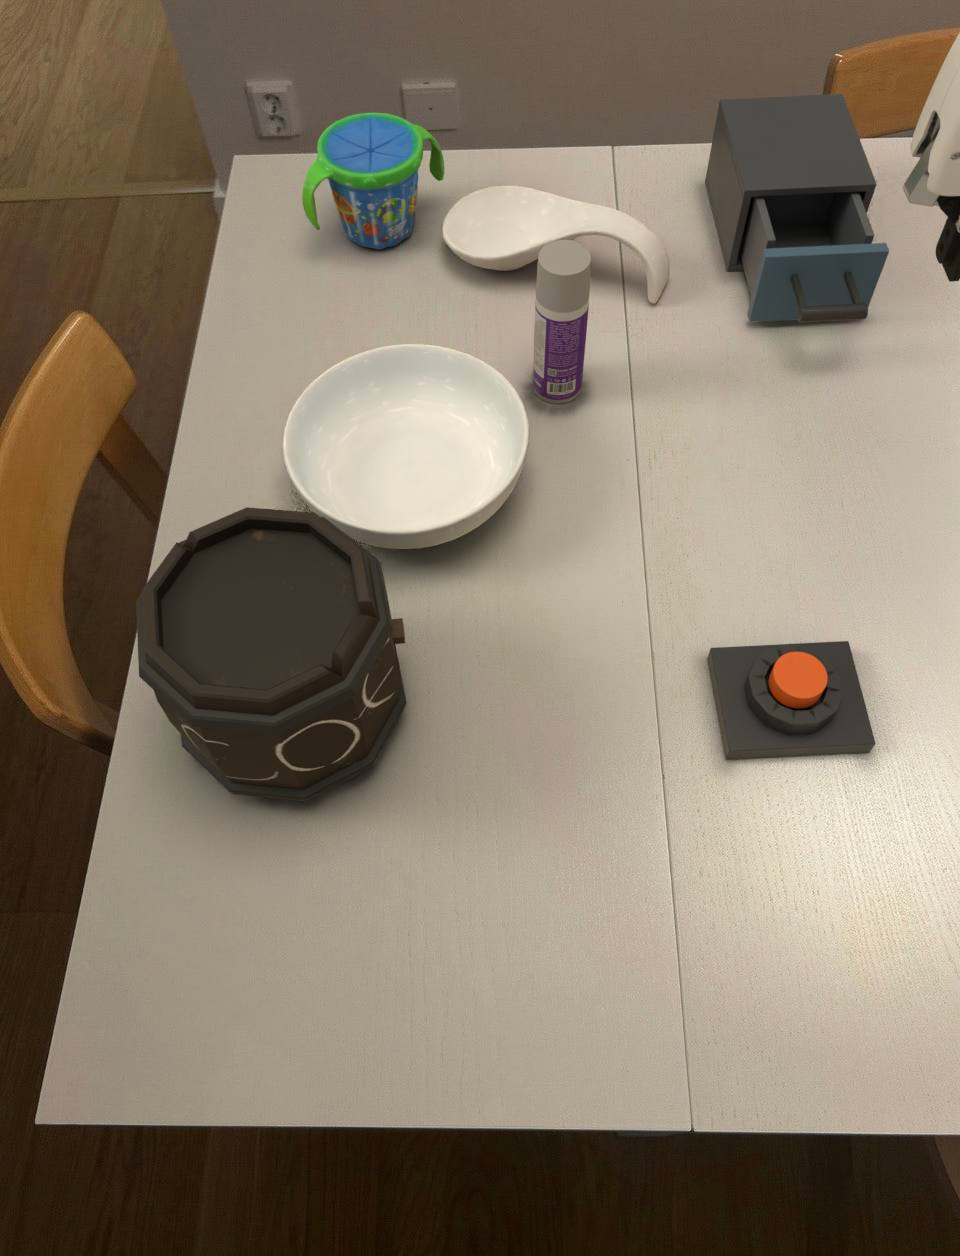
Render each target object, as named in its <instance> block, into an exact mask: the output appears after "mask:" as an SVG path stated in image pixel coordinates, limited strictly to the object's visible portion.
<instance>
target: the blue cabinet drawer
mask: <svg viewBox="0 0 960 1256" xmlns="http://www.w3.org/2000/svg"><path fill="white" fill-rule="evenodd" d="M874 238H875V233H874V230H873V227H872V225H871V221H870V218H869V216H868V212H867V213H866V210H865V208H864V205H863V202H862V199H861V197H860V194H859V192H841V193H820V194H799V195H779V196H758V197H751V201H750V205H749V210H748V214H747V219H746V223H745V228H744V232H743V236H742V241H741V245H740V250H739V252H740V256H741V260H742V264H743V267H744V271H743V272H744V275H745V279H746V282H747V283H746V284H747V287H748V291H749V294H750V300H749V301H750V302H749V305H748V309H747V318H748V322H750V323H754V322H755V323H757V322H775V321H777V322H778V321H798V323H816V322H817V323H818V322H819V323H821V322H837V321H838V322H839V321H859V320H866V319H867V318H868V315H869V314H868V313H869V307H870V304H871V301H872V299H873V296H874V293H875V290H876V288H877V285H878V282H879V279H880V277H881V274H882V271H883V269H884V266H885V264H886V261H887V258H888V255H889V252H890V249H889V246H888V244H887V243H886V242H877V243H873V241H874Z"/></svg>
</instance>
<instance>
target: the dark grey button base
mask: <svg viewBox="0 0 960 1256" xmlns="http://www.w3.org/2000/svg"><path fill="white" fill-rule="evenodd" d="M790 652H804V653H807V654H810V655H812V656H814V657H815V658H817V659H818V660H819V661H820V662H821V663H822V664H823V666H824V667H825V669H826V672H827V676H828V681H827V685H826V687H825V689H824V691H823V693H822V695H821V697H820V698H819V700H818V701H817V702H816V703H815V704H814V705H812V706H810V707H807V708H803V709H795V708H790V707H787V706H785V705H783V704H781V703H780V702H779V701H777V700H776V699H775V697H774V696H773V695H772V693H771V691H770V688H769V676H770V674H771V671H772V669H773V667H774V665H775V663H776V661H777V660H778V659H779V658H780V657H781V656H782V655H784V654H786V653H790ZM706 660H707V666H708V671H709V677H710V682H711V689H712V692H713V698H714V704H715V709H716V714H717V715H716V716H717V721H718V727H719V731H720V737H721V743H722V748H723V749H722V750H723V754H724V758H725V760H726V761H737V760H738V761H739V760H757V759H777V758H778V759H779V758H796V757H797V758H798V757H815V756H833V755H853V754H854V755H855V754H869V753H870V752H871V751H872V749H873V748H874V747H875V745H876V740H875V736H874V732H873V729H872V725H871V721H870V718H869V713H868V709H867V706H866V701H865V699H864V693H863V691H862V687H861V683H860V679H859V676H858V672H857V671H858V670H857V668H856V664H855V660H854V656H853V653H852V649H851V644H850V642H849V641H848V640H842V641H841V640H840V641H822V642H821V641H820V642H800V643H781V644H763V645H762V644H761V645H740V646H739V645H738V646H720V647H711V648H709V651H708V655H707V658H706Z"/></svg>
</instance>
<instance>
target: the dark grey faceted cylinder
mask: <svg viewBox="0 0 960 1256" xmlns="http://www.w3.org/2000/svg"><path fill="white" fill-rule="evenodd" d="M386 586H387V585H386V581H385V575H384V571H383V565H382V563H381V561H380V560H379V559H378V557H377V556H375V555H373V554H372V553H371V552H370V551H369V550H367V549H366V548H365V547H364V546H362V545H361V544H360V543H358V541H356V540H354V539H352V538H350V537H349V536H348V535H346V534H345V533H344V532H343V531H341V530H340V529H339V528H337V527H336V526H335V525H333V524H332V523H331V522H330V521H328V520H327V519H326V518H324V517H320V516H319V515H317V514H316V513H314V512H313V511H300V510H287V509H272V508H261V507H260V508H259V507H249V506H248V507H244V508H242V509H239V510H238V511H235V512H232V513H230V514H228V515H226V516H223V517H221V518H219V519H217V520H215V521H211V522H210V523H207V524H205V525H203V526H201V527H197V528H196V529H194V530H191V531H189V533H188V535H187V537H186V539H183V540H182V541H179V542H176V543H174V545H173V547H172V548H171V549H170V550H169V552H168V553H167V555H165V557H164V559H163V560H162V561H161V563H160V564H159V566H158V567H157V568H156V569H155V570H154V573H153V574H152V575H151V576H150V578H149V579H148V581H147V582H146V583H145V584H144V586H143V587H142V588H141V594H140V595H139V597H138V598H137V599H136V601H135V610H136V611H135V613H136V614H135V615H136V633H137V634H136V635H137V659H138V660H137V661H138V678H140V679H141V680H142V681H143V682H144V683H145V684H147V685H148V686H149V688H150V689H152V690H153V692H154V696H155V698H156V701H157V703H158V705H159V706H160V708H161V710H162V711H163V712H164V715H165V716H166V718H167V719H168V721H169V723H170V724H171V725H172V726H173V727H174V728H175V729H176V730H177V731H178V732H179V733H180V741H181V742H180V744H181V747H182V748H183V749H184V750H185V751H186V752H187V753H188V754H189V755H190V756H191V757H192V758H193V759H195V760H196V761H197V762H198V763H199V764H200V765H201V766H202V767H203V768H204V769H205V770H206V771H208V773H209V774H210V775H212V777H213V778H214V779H216V781H218V783H220V784H221V786H222V787H224V789H226V790H227V791H228V792H229V793H231V794H233V795H239V796H249V797H261V798H270V799H280V800H281V799H282V800H290V801H300V802H307V801H309V800H312V799H313V798H315V797H317V796H319V795H321V794H323V793H325V792H327V791H328V790H329V791H330V789H333V788H335V787H336V786H339V785H340V784H342V783H344V782H346V781H348V780H350V779H352V778H354V777H356V776H358V775H360V774H361V773H363V772H366V771H368V770H369V769H371V768H373V766H374V765H375V763H376V761H377V759H378V757H379V755H380V754H381V752H382V750H383V748H384V746H385V744H386V743H387V741H388V740H389V737H390V736H391V734H392V732H393V730H394V728H395V726H396V725H397V723H398V721H399V719H400V718H401V715H402V713H403V711H404V709H405V708H406V706H407V698H406V693H405V687H404V683H403V682H404V681H403V676H402V671H401V667H400V661H399V660H400V659H399V657H398V650H397V645H402V644H403V645H404V644H406V635H405V626H404V625H405V624H404V618H403V617H401V618H393V617H392V612H391V607H390V602H389V599H388V597H389V596H388V592H387V587H386Z"/></svg>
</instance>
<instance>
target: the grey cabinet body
mask: <svg viewBox="0 0 960 1256" xmlns="http://www.w3.org/2000/svg"><path fill="white" fill-rule="evenodd" d="M856 128H857V127H856V125H855V123H854V120H853V117H852V116H851V112H850V110H849V108H848V105H847V102H846V99H845V97H844V94H843V93H833V94H831V93H829V94H828V93H827V94H811V95H810V94H809V95H808V94H807V95H789V96H787V95H786V96H767V97H748V98H729V99H728V98H726V99H725V98H723V99H719V102H718V108H717V113H716V118H715V125H714V130H713V135H712V141H711V146H710V152H709V158H708V164H707V169H706V174H705V179H704V184H705V187H706V192H707V195H708V200H709V204H710V208H711V213H712V216H713V219H714V224H715V229H716V232H717V236H718V240H719V244H720V248H721V254H722V256H723V260H724V261H723V262H724V265H725V268H726V272H745V271H744V267H743V264H742V260H741V256H740V252H739V250H740V245H741V241H742V236H743V232H744V228H745V223H746V219H747V214H748V210H749V205H750V201H751V197H758V196H779V195H799V194H820V193H841V192H859V194H860V197H861V199H862V202H863V205H864V208H865V210H866V213H867V214H868V211H869V208H870V206H871V202H872V199H873V196H874V193H875V190H876V187H877V181H876V179H875V176H874V173H873V171H872V168H871V166H870V162H869V160H868V157H867V155H866V152H865V150H864V147H863V144H862V142H861V138H860V136H859V133H858V131H857V129H856Z"/></svg>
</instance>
